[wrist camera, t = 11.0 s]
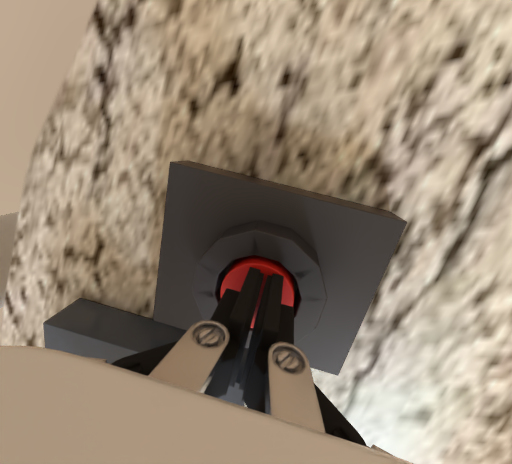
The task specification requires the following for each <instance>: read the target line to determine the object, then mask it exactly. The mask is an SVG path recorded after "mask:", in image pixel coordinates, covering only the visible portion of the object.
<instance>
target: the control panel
mask: <svg viewBox="0 0 512 464" xmlns="http://www.w3.org/2000/svg"><path fill="white" fill-rule="evenodd" d="M43 325H44V339H45V348H47V349H53V350H59V351H63V352H67V353H71V354H75V355H79V356H82V357H89V358H100V359H107V363H111V364H112V363H113V362H115V361H116V360H119V359H121V358H123V357H127V356H130V355H133V354H136V353H140V352H143V351H146V350H150V349H153V348H156V347H159V346H163V345H166V344H169V343H173V342H176V341H179V340H180V339H181V338H182V336H183V335H184V334H185V333H186V332H187V331H188V330H184V329H181V328H178V327H174V326H171V325H168V324H164V323H161V322H158V321H154V320H152V319H149V318H146V317H142V316H139V315H136V314H132V313H129V312H125V311H122V310H119V309H115V308H112V307H109V306H105V305H102V304H99V303H95V302H92V301H89V300H85V299H82V298H79V299H78V300H76V301H75V302H73V303H72V304H70V305H69V306H67V307H66V308H64V309H63V310H62V311H60V312H59V313H57V314H56V315H54V316H53V317H51V318H50V319H48V320H47V321H45V322H44V323H43ZM247 352H248V348H245V349H244V353H243V357H242V360H241V364H240V368H239V371H238V375H237V379H236V382H235V386H234V388H233V387H230V386H229V387H228V390H227V394H226V396H225V395H223V396H221V397H219V399H222V400H225V401H228V402H231V403H234V404H237V405H240V406H244V403H245V402H244V401H241V400H242V396H243V391H242V390H239V385H240V381H241V376H242V372H243V368H244V364H245V360H246V356H247Z"/></svg>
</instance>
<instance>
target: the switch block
mask: <svg viewBox="0 0 512 464" xmlns="http://www.w3.org/2000/svg"><path fill="white" fill-rule="evenodd" d="M406 224H407V222H406V221H405V220H403V219H401V218H400V217H398V216H396V215H395V214H393V213H392V212H390V211H386V210H382V209H378V208H374V207H370V206H366V205H362V204H358V203H354V202H350V201H346V200H342V199H338V198H334V197H330V196H326V195H322V194H318V193H314V192H310V191H306V190H302V189H298V188H294V187H290V186H286V185H282V184H278V183H274V182H270V181H266V180H262V179H258V178H254V177H250V176H246V175H242V174H238V173H234V172H230V171H226V170H223V169H219V168H215V167H211V166H207V165H203V164H199V163H195V162H191V161H178V162H170V168H169V177H168V186H167V195H166V204H165V214H164V223H163V232H162V241H161V250H160V259H159V269H158V278H157V287H156V296H155V305H154V315H153V320H154V321H158V322H161V323H164V324H168V325H171V326H174V327H178V328H181V329H184V330H189V328H190V327H191V326H192V325H194V324H195V323H197V322H199V321H202V320H210V319H211V317H212V315H213V313H214V311H215V310H216V308H217V306H218V304H219V302H220V300H221V295H220V290H221V285H222V282H223V280H224V278H225V276H226V274H227V273H228V271H229V269H230V267H231V266H232V264H233V262H234V261H235V260H236V259H240V258H244V257H248V256H253V255H257V256H260V257H264V258H268V259H271V260H275V261H279V262H280V263H281V264H282V265H283V266H284V267H285V268H286V269H287V270H288V271H289V272H290V273H291V274H293V277H294V304H293V307H294V345H295V346H297V347H298V348H300V349H301V350H302V351H303V352H304V354H305V355H306V356H307V358H308V361H309V365H310V367H311V368H314V369H318V370H321V371H325V372H328V373H331V374H335V375H338V374H339V372H340V370H341V368H342V366H343V363H344V361H345V359H346V357H347V354H348V352H349V350H350V348H351V346H352V343H353V341H354V339H355V337H356V334H357V332H358V330H359V328H360V326H361V323H362V321H363V319H364V317H365V314H366V312H367V310H368V308H369V306H370V303H371V301H372V299H373V297H374V295H375V292H376V290H377V288H378V286H379V283H380V281H381V279H382V277H383V275H384V272H385V270H386V268H387V266H388V263H389V261H390V259H391V257H392V255H393V252H394V250H395V248H396V246H397V243H398V241H399V239H400V237H401V235H402V232H403V230H404V228H405V226H406ZM252 331H253V328H250V331H249V334H248V338H247V342H246V345H245V348H248V347H249V343H250V339H251V335H252Z"/></svg>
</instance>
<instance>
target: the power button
mask: <svg viewBox="0 0 512 464" xmlns="http://www.w3.org/2000/svg"><path fill="white" fill-rule="evenodd" d="M250 267H253V268H256V269H260V270H261V271H260V273H263V274H264V277H263V281H262V285H261V288H260V292H259V296H258V300H257V304H256V308H255V312H254V316H253V319H252V323H251V327H250V328H253V327H254V323H255V319H256V316H257V312H258V308H259V305H260V301H261V297H262V294H263V290H264V287H265V283H266V279H267V276H268V275H270V276H272V274H273V273H274V274H278V275H281V276H284V280H283V290H282V301H281V304H284V305H288V306H291V307H293V304H294V277H293V274H291V273H290V272H289V271H288V270H287V269H286V268H285V267H284V266H283V265H282V264H281V263H280V262H279V261H275V260H271V259H268V258H264V257H260V256H257V255H253V256H248V257H244V258H240V259H236V260H235V261H234V262H233V264H232V266H231V267H230V269H229V271H228V273H227V274H226V276H225V278H224V280H223V282H222V285H221V290H220V295H221V298H222V296H223V294H224V292H225V290H226V288H229V289H232V290H236V291H239V292H240V290H241V288H242V285H243V283H244V281H245V278H246V276H247V273H248V271H249V268H250Z"/></svg>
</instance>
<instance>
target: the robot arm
mask: <svg viewBox="0 0 512 464" xmlns="http://www.w3.org/2000/svg"><path fill="white" fill-rule="evenodd" d="M260 271H261V270H260V269H256V268H253V267H250V268H249V271H248V273H247V276H246V278H245V281H244V283H243V285H242V288H241V290H240V292H239V291H236V290H232V289H229V288H226V290H225V292H224V294H223V296H222V298H221V300H220V302H219V304H218V306H217V308H216V310H215V311H214V313H213V315H212V317H211V319H210V320H202V321H199V322H197V323H195V324H194V325H192V326H191V327H190V328H189V330H188V331H187V332H186V333H185V334H184V335H183V336H182V338H181V339H180V340H179V341H176V342H173V343H169V344H166V345H163V346H159V347H156V348H153V349H150V350H146V351H143V352H140V353H136V354H133V355H130V356H127V357H123V358H121V359H119V360H116V361H115V362H113V363H112V364H111V363H107V359H100V358H89V357H82V356H79V355H75V354H71V353H67V352H63V351H59V350H53V349H47V348H42V347H31V346H0V464H413V463H410V462H408V461H405V460H403V459H400V458H397V457H395V456H393V455H391V454H389V453H388V452H386V451H384V450H382V449H380V448H379V447H377V446H375V445H372V447H371V448H370V447H368V446H366V444H365V442H364V440H363V438H362V437H361V436H360V434H359V433H358V432H357V431H356V430H355V428H354V427H353V426H352V425H351V424H350V423H349V422H348V421H347V420H346V418H345V417H344V416H343V415H342V414H341V413H340V412H339V411H338V409H337V408H336V407H335V406H334V405H333V404H332V403H331V402H330V400H329V399H328V398H327V397H326V396H325V395H324V394H323V393H322V392H321V390H320V389H319V388H318V387H317V386H316V385H315V384H314V382H313V377H312V373H311V369H310V365H309V361H308V358H307V356H306V355H305V354H304V352H303V351H302V350H301V349H300V348H298V347H297V346H295V345H294V307H291V306H288V305H284V304H281V301H282V290H283V280H284V276H281V275H278V274H274V273H273V274H272V276H270V275H268V276H267V279H266V283H265V287H264V290H263V294H262V297H261V301H260V305H259V308H258V312H257V316H256V319H255V323H254V327H253V331H252V335H251V339H250V343H249V347H248V352H247V356H246V360H245V364H244V368H243V372H242V376H241V381H240V385H239V390H242V391H243V396H242V400H241V401H244V402H245V403H246V405H247V407H248V408H247V407H243V406H240V405H237V404H234V403H231V402H228V401H225V400H222V399H219V397H221V396H223V395H225V396H226V394H227V390H228V387H229V386H230V387H233V388H234V386H235V382H236V379H237V375H238V371H239V368H240V364H241V360H242V357H243V353H244V349H245V345H246V342H247V338H248V334H249V331H250V327H251V323H252V319H253V316H254V312H255V308H256V304H257V300H258V296H259V292H260V288H261V285H262V281H263V277H264V274H263V273H260Z"/></svg>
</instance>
